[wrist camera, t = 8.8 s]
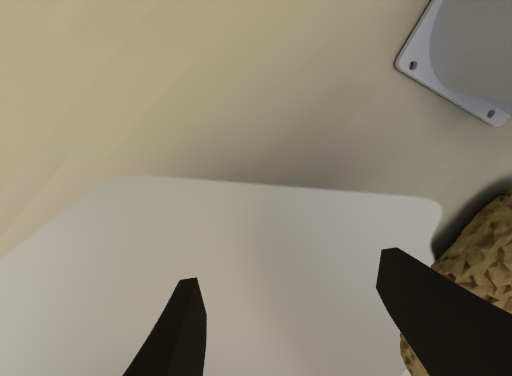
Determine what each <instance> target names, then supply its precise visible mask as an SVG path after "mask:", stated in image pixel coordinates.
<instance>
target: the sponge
mask: <svg viewBox="0 0 512 376" xmlns="http://www.w3.org/2000/svg"><path fill="white" fill-rule="evenodd" d="M431 269H433V270H435V271H436V272H438V273H440V274H441V275H443V276H445V277H446V278H448V279H450V280H451V281H453V282H455V283H456V284H458V285H460V286H461V287H463V288H465V289H467V290H468V291H470V292H472V293H473V294H475V295H477V296H479V297H481V298H483V299H484V300H486V301H488V302H490V303H492V304H493V305H495V306H497V307H499V308H501V309H503V310H505V311H507V312H509V313H511V314H512V188H511V189H508V190H506V193H505V195H501V196H498V197H497V198H496V199H495V200H494V201H492V202H491V203H489V204H488V205H487V206H486V207H485V208H483V209H482V210H481V211H480V212H479V213H478V214H477V215H476V216H475V217H474V219H473V220H472V221H471V222H470V224H468V225H467V226H465V227H464V229H463V230H462V232H461V233H460V236H459V237H458V238H457V240H456V242H455V243H454V244H453V245H452V246H451V247H450V248H449V249H448V250H447V251H445V253H444V254H443V255H442V256H441V257H440V258H439V259H438V260H437V261H436V262H435V263H434V264H432V265H431ZM400 338H401V342H400V348H401V355H402V358H403V360H404V363H405V365H406V367H407V369H408V371H409V372H410V374H411V376H429V374H428V373H427V371H426V370H425V368H424V367H423V365H422V364H421V362H420V361H419V359H418V357H417V356H416V354H415V353H414V351H413V350H412V348H411V347H410V345H409V344H408V342H407V341H406V339H405V338H404V336H403V335H402V333H401V334H400Z"/></svg>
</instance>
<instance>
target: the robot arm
mask: <svg viewBox="0 0 512 376" xmlns="http://www.w3.org/2000/svg"><path fill="white" fill-rule="evenodd" d="M411 62H413V67H412V68H411V69H409V64H410V63H411ZM395 66H396V68H397V69H398V70H399V71H401V72H402V73H404V74H406V75H407V76H409V77H411V78H412V79H414V80H416V81H417V82H419V83H421V84H422V85H424V86H426V87H427V88H429V89H431V90H432V91H434V92H436V93H437V94H439V95H441V96H442V97H444V98H446V99H447V100H449V101H451V102H452V103H454V104H456V105H457V106H459V107H461V108H462V109H464V110H466V111H467V112H469V113H471V114H472V115H474V116H476V117H477V118H479V119H481V120H482V121H484V122H486V123H487V124H489V125H491V126H495V127H500V126H502V125H503V124H504V123H505V122H506V121H507V120H508V118H509V117H510V116H511V115H512V0H431V2H430V4H429V5H428V7H427V9H426V10H425V12H424V14H423V15H422V17H421V19H420V20H419V22H418V24H417V25H416V27H415V29H414V30H413V32H412V34H411V35H410V37H409V39H408V40H407V42H406V44H405V45H404V47H403V49H402V50H401V52H400V54H399V55H398V57H397V59H396V62H395ZM489 111H490V112H489ZM488 112H489V114H488ZM487 114H488V115H487ZM376 289H377V291H378V293H379V295H380V297H381V299H382V301H383V303H384V305H385V307H386V309H387V311H388V313H389V314H390V316H391V318H392V319H393V321H394V322H395V324H396V325H397V327H398V329H399V330H400V332H401V333H402V335H403V336H404V338H405V339H406V341H407V342H408V344H409V345H410V347H411V348H412V350H413V351H414V353H415V354H416V356H417V357H418V359H419V361H420V362H421V364H422V365H423V367H424V368H425V370H426V371H427V373H428V374H429V376H512V314H511V313H509V312H507V311H505V310H503V309H501V308H499V307H497V306H495V305H493V304H492V303H490V302H488V301H486V300H484V299H483V298H481V297H479V296H477V295H475V294H473V293H472V292H470V291H468V290H467V289H465V288H463V287H461V286H460V285H458V284H456V283H455V282H453V281H451V280H450V279H448V278H446V277H445V276H443V275H441V274H440V273H438V272H436V271H435V270H433V269H431V268H430V267H428V266H426V265H425V264H423V263H422V262H420V261H419V260H417V259H415V258H414V257H412V256H410V255H409V254H407V253H405V252H404V251H402V250H400V249H399V248H397V247H396V248H390V249H383V250H382V251H381V257H380V264H379V271H378V277H377V284H376ZM206 320H207V314H206V311H205V307H204V303H203V299H202V296H201V291H200V288H199V284H198V280H197V278H190V279H183V280H180V281H179V282H178V284H177V286H176V288H175V290H174V292H173V294H172V296H171V298H170V300H169V302H168V303H167V305H166V307H165V309H164V311H163V312H162V314H161V316H160V318H159V319H158V321H157V323H156V324H155V326H154V328H153V330H152V331H151V333H150V335H149V336H148V338H147V340H146V341H145V343H144V344H143V346H142V347H141V349H140V350H139V352H138V353H137V355H136V356H135V358H134V360H133V361H132V363H131V364H130V366H129V367H128V368H127V370H126V371H125V373H124V374H123V376H203V368H204V359H205V350H206V327H207V326H206V325H207V322H206Z"/></svg>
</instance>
